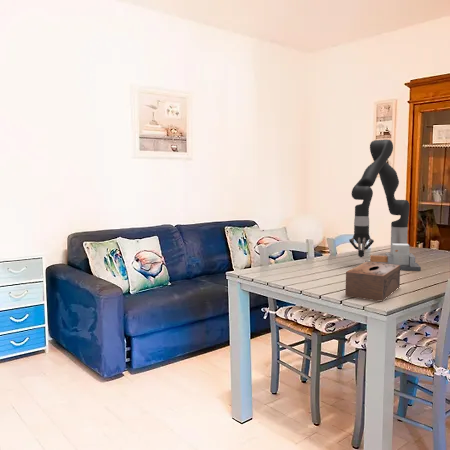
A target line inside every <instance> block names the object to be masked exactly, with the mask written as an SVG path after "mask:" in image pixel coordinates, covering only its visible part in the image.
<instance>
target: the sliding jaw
mask: <svg viewBox="0 0 450 450" xmlns="http://www.w3.org/2000/svg"><path fill="white" fill-rule="evenodd" d="M369 257H370V259H369V261H370V262H386V264H393V256H392V254H391V253H390V252H388V251H387V252H385V255H381V254H380V255H377V254H376V255H374V254H373V255H372V254H371V255H370V256H369Z"/></svg>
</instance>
